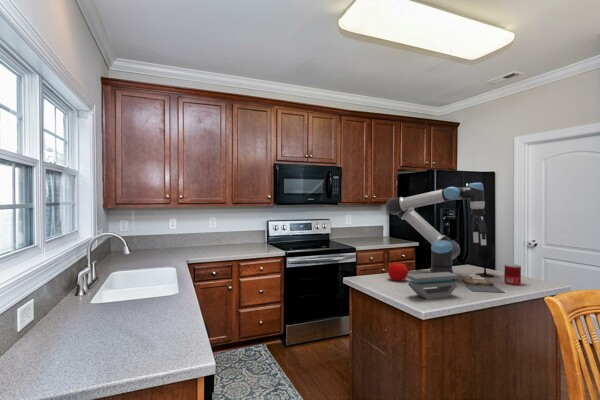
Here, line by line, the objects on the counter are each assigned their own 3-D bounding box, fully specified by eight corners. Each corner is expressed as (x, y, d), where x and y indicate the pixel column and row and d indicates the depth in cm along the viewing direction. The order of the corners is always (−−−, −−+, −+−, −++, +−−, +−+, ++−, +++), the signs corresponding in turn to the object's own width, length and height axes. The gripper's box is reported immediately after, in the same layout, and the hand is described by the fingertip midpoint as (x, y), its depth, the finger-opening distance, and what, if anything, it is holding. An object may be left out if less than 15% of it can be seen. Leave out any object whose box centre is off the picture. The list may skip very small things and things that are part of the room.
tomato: (384, 278, 199) (384, 260, 199) (400, 277, 202) (400, 259, 202) (395, 283, 188) (395, 264, 188) (412, 282, 191) (412, 263, 191)
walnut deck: (467, 285, 183) (467, 282, 183) (461, 281, 193) (461, 278, 193) (493, 287, 181) (493, 283, 181) (486, 282, 191) (486, 279, 191)
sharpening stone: (447, 292, 171) (447, 271, 170) (458, 296, 163) (458, 275, 163) (406, 296, 164) (406, 274, 164) (415, 300, 156) (416, 278, 156)
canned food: (523, 286, 183) (523, 266, 183) (507, 285, 185) (507, 266, 185) (517, 282, 191) (517, 263, 191) (502, 281, 193) (502, 263, 192)
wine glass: (474, 276, 206) (475, 244, 206) (476, 273, 214) (477, 243, 214) (493, 278, 200) (494, 246, 200) (495, 275, 208) (495, 244, 208)
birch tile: (485, 282, 182) (485, 279, 182) (474, 282, 183) (474, 278, 183) (479, 278, 191) (479, 275, 191) (468, 278, 192) (468, 275, 192)
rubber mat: (472, 291, 172) (472, 290, 172) (465, 285, 183) (465, 285, 183) (504, 292, 170) (504, 292, 170) (495, 287, 181) (495, 286, 181)
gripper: (492, 208, 181) (494, 246, 180) (477, 208, 205) (479, 241, 205) (477, 208, 183) (479, 246, 182) (464, 208, 207) (466, 241, 206)
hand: (479, 243), depth 193 cm, fingers open, 13 cm apart
